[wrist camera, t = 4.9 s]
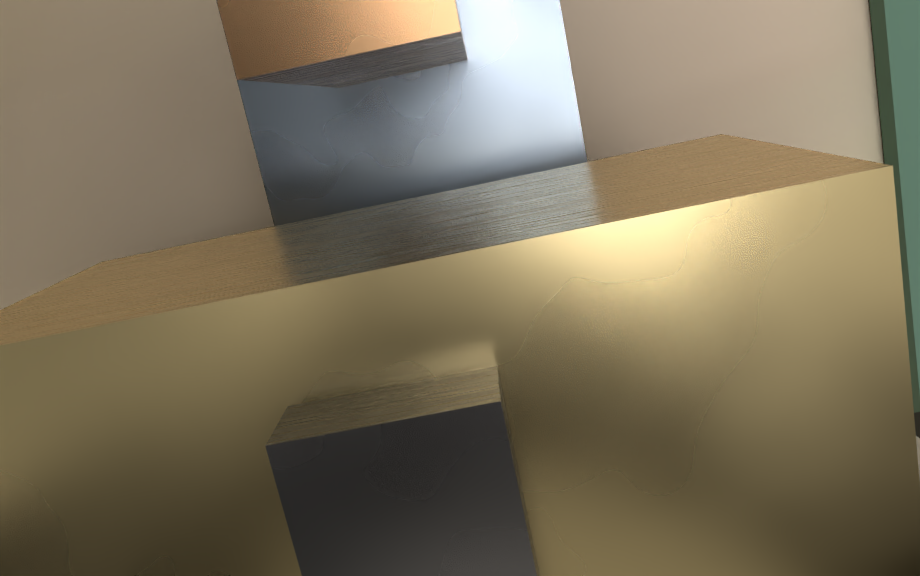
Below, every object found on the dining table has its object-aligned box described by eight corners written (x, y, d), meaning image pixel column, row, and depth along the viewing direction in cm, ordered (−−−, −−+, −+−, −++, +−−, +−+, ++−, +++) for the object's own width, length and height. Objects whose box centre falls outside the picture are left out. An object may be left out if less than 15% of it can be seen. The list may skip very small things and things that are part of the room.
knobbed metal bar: (254, -99, 16) (-80, -394, 7) (505, -157, 16) (548, -561, 6) (469, 787, 21) (462, 1398, 11) (668, 756, 20) (841, 1357, 11)
